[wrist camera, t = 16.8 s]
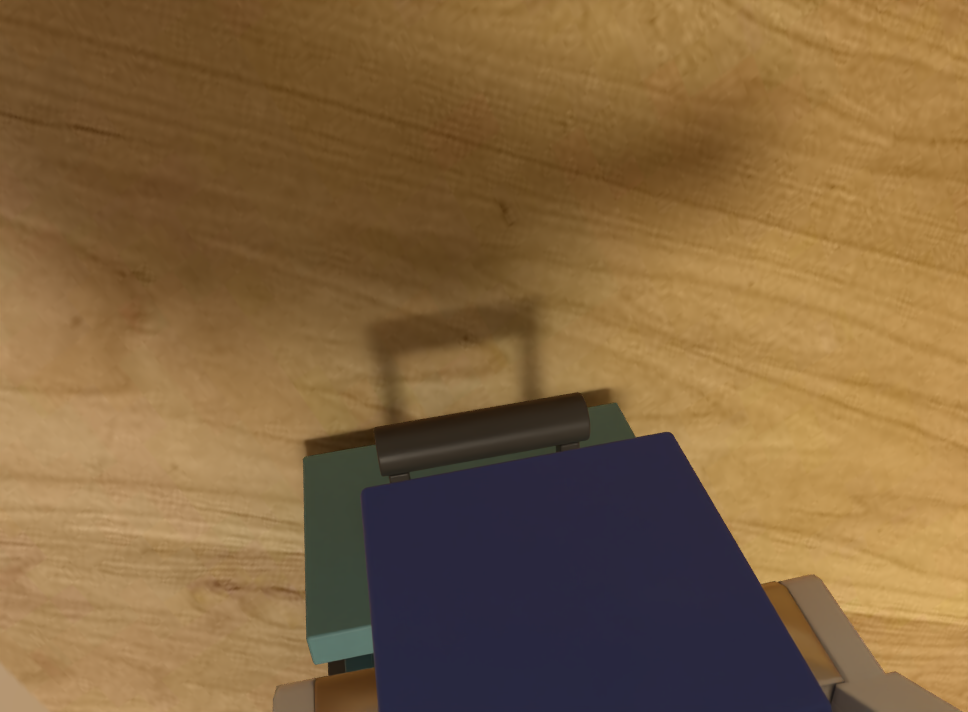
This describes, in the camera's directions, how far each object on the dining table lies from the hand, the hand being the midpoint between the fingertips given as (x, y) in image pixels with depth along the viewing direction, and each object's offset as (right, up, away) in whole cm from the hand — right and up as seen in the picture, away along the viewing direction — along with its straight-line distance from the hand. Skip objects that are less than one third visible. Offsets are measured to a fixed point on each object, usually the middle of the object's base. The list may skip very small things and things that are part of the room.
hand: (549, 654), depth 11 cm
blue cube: (0, +1, +1) cm, 2 cm away
